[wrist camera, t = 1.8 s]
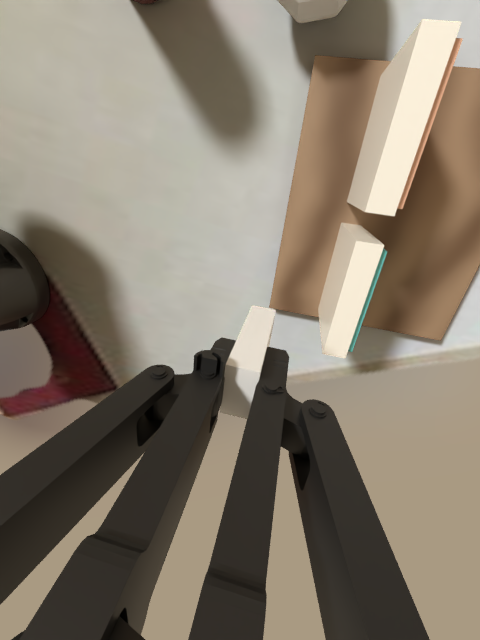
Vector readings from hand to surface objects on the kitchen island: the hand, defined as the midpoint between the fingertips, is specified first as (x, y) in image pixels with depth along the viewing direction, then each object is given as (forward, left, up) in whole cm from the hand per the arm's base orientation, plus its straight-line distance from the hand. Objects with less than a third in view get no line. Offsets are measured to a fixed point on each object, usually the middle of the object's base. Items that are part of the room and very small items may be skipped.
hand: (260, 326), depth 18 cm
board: (+10, +6, -18) cm, 21 cm away
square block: (+7, 0, -17) cm, 18 cm away
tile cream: (+7, +12, -17) cm, 22 cm away
